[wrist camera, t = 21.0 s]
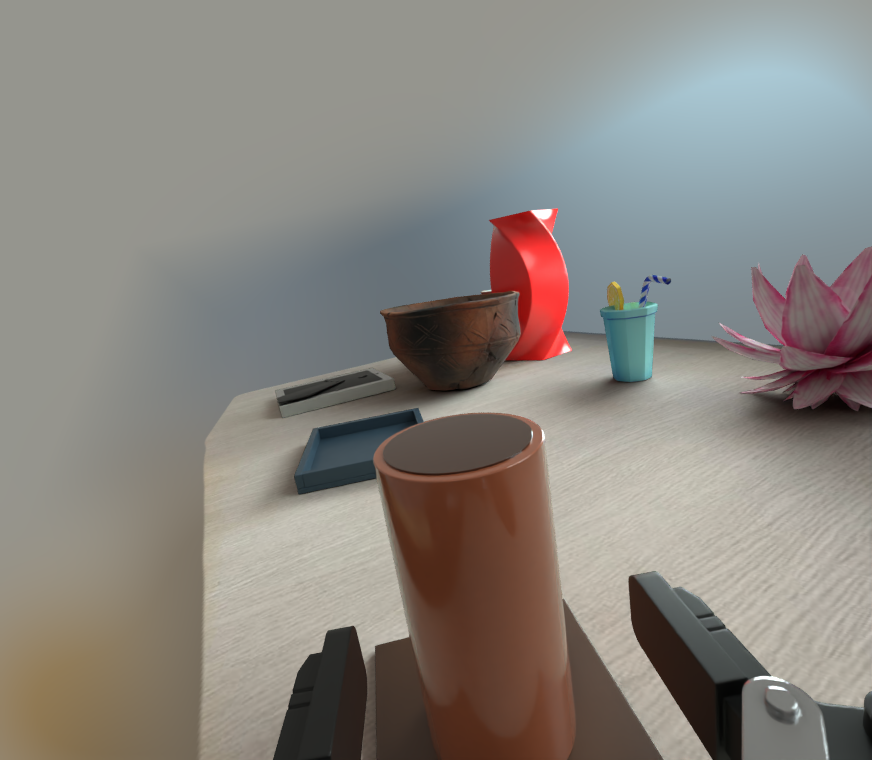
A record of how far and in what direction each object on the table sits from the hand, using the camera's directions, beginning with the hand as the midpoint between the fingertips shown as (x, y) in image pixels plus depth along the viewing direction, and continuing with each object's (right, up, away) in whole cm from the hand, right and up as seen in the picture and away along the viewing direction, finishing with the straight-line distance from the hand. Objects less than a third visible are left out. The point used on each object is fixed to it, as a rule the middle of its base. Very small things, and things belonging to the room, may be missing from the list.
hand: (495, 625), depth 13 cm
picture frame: (-22, +4, +75) cm, 78 cm away
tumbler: (+1, -8, +7) cm, 10 cm away
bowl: (+3, +6, +68) cm, 69 cm away
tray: (-10, -2, +41) cm, 42 cm away
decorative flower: (+41, +5, +35) cm, 54 cm away
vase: (+19, +12, +82) cm, 85 cm away
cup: (+28, +7, +53) cm, 61 cm away
